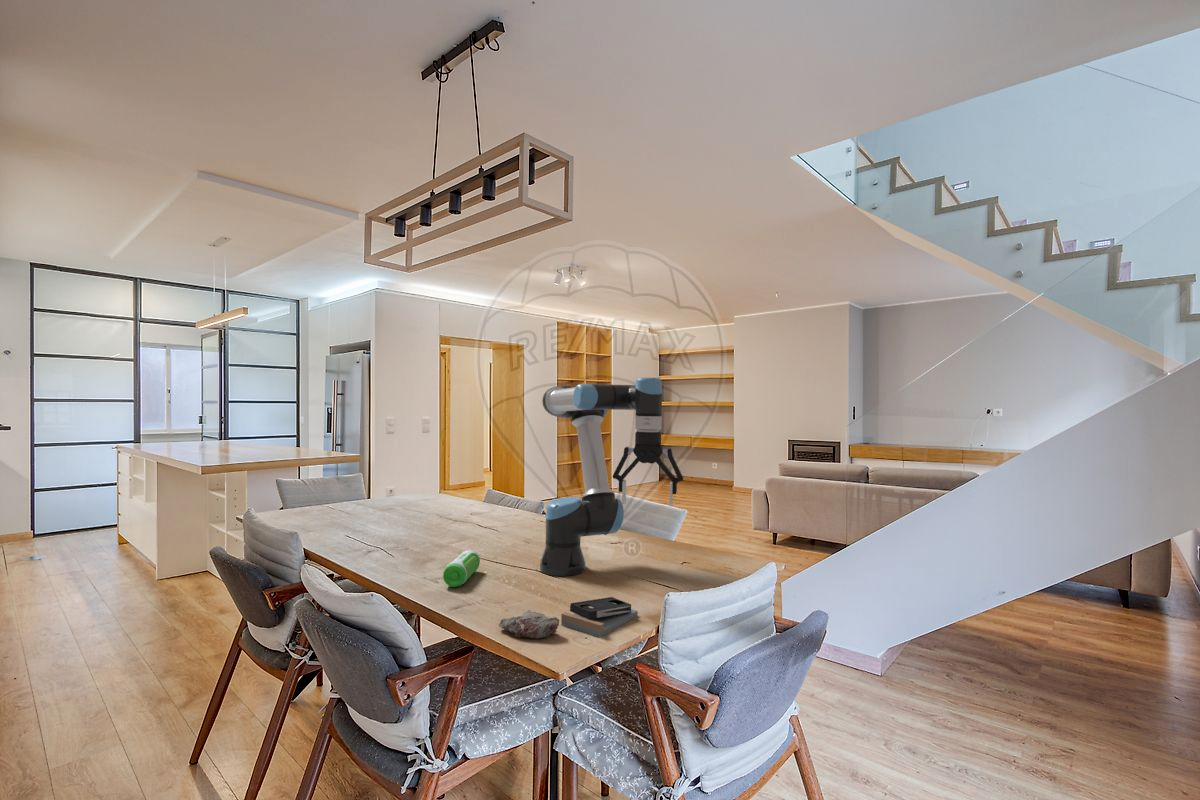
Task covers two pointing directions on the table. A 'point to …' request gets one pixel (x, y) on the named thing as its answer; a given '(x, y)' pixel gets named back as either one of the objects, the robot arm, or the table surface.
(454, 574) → the speaker
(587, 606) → the vhs tape
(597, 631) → the board
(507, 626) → the mineral rock
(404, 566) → the table surface
